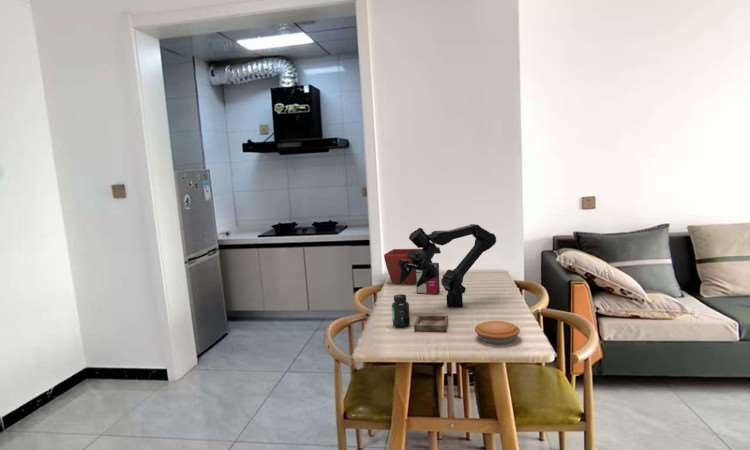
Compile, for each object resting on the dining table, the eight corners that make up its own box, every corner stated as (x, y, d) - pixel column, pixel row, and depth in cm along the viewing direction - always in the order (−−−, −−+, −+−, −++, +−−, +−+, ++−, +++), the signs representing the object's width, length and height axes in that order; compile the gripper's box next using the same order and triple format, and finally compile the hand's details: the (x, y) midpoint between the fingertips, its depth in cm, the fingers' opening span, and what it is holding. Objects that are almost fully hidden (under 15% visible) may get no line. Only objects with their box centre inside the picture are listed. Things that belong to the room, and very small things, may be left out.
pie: (493, 350, 154) (492, 335, 154) (466, 336, 169) (465, 323, 168) (530, 341, 160) (529, 327, 160) (500, 328, 175) (500, 315, 174)
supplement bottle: (392, 328, 182) (390, 298, 180) (393, 322, 189) (392, 293, 187) (409, 328, 181) (407, 297, 179) (410, 322, 188) (409, 293, 186)
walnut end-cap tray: (448, 321, 186) (448, 315, 185) (446, 331, 174) (446, 325, 174) (418, 321, 188) (417, 315, 188) (414, 331, 177) (414, 325, 176)
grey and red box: (416, 293, 230) (414, 263, 228) (418, 291, 234) (417, 262, 232) (438, 294, 226) (436, 264, 224) (440, 292, 230) (438, 262, 228)
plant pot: (394, 277, 268) (393, 248, 266) (427, 278, 262) (426, 248, 260) (385, 285, 250) (383, 254, 248) (420, 286, 244) (418, 254, 242)
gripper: (400, 240, 200) (382, 269, 193) (435, 244, 187) (416, 275, 180) (412, 257, 206) (395, 285, 199) (446, 262, 193) (429, 292, 186)
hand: (408, 284), depth 191 cm, fingers open, 9 cm apart
